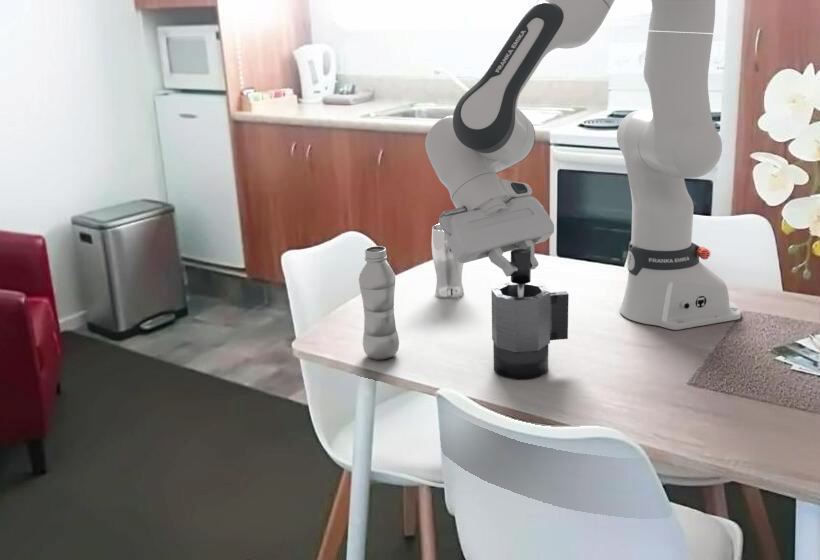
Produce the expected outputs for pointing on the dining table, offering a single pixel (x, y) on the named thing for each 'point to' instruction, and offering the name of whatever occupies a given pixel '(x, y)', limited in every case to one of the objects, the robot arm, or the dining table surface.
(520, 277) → the plunger
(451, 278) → the beer glass
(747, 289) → the dining table surface
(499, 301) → the press carafe
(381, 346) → the plastic bottle
